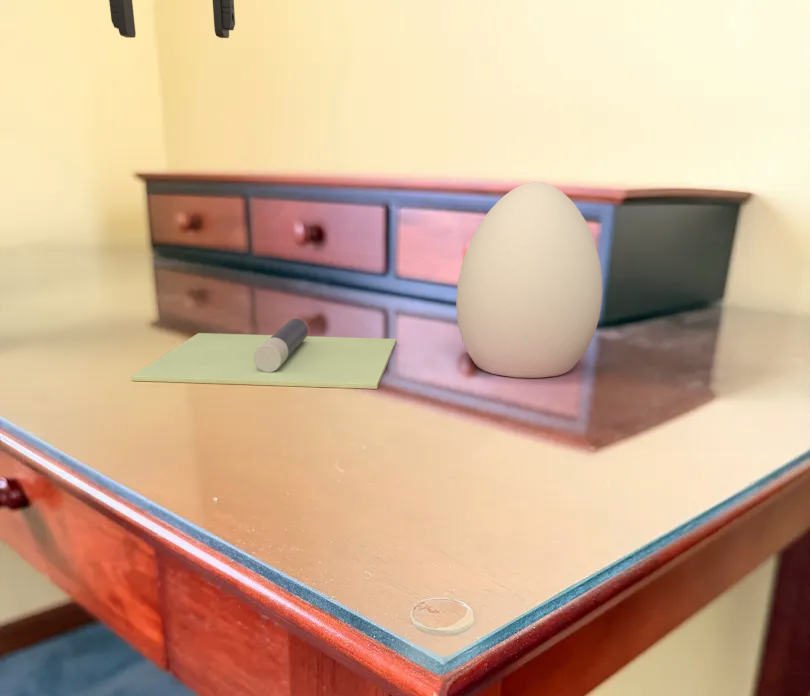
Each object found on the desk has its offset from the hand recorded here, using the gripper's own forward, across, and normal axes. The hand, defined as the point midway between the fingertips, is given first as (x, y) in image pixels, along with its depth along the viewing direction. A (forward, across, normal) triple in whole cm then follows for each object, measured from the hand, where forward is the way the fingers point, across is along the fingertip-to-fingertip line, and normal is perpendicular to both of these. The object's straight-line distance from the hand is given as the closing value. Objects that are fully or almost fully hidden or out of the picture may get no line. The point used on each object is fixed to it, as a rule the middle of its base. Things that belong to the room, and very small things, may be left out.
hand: (174, 36), depth 72 cm
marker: (+26, -10, +10) cm, 29 cm away
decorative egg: (+26, -32, +10) cm, 43 cm away
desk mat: (+26, -10, +10) cm, 30 cm away
